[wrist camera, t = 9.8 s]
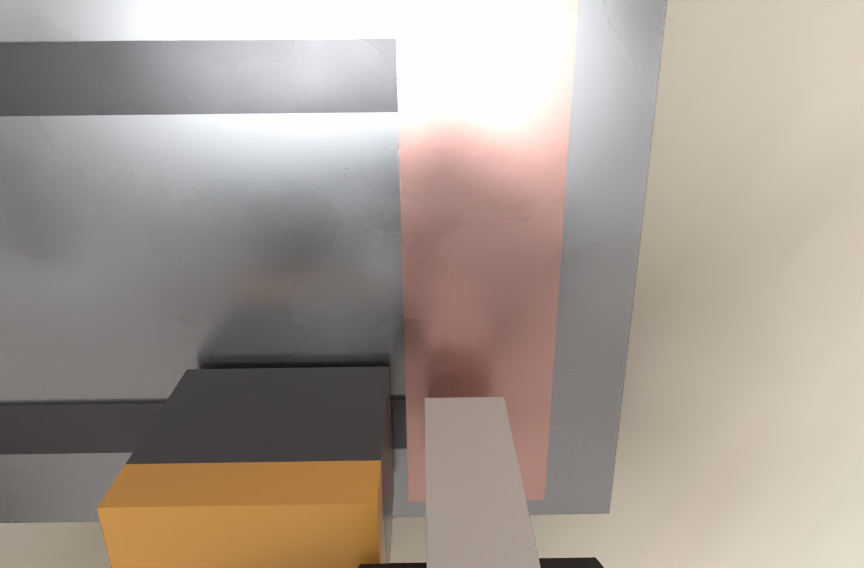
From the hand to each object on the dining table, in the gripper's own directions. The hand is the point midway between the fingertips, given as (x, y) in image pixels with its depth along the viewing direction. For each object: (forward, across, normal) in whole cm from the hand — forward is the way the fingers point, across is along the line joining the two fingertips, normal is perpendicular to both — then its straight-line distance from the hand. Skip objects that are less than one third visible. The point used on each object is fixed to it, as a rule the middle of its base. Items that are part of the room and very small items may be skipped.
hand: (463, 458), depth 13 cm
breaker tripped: (+1, -3, 0) cm, 4 cm away
